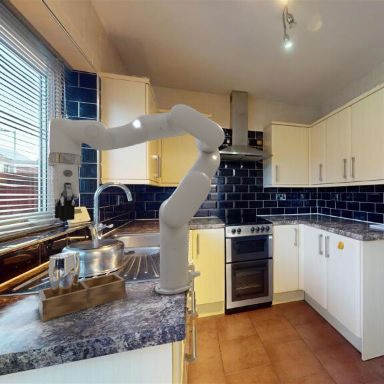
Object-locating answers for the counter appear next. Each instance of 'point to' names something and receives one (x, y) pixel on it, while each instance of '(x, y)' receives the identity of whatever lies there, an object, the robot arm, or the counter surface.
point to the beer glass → (64, 273)
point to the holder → (81, 296)
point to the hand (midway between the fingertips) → (64, 219)
